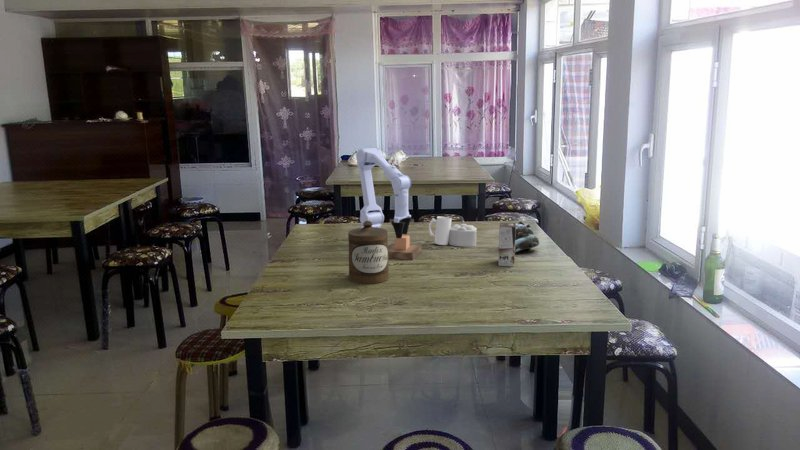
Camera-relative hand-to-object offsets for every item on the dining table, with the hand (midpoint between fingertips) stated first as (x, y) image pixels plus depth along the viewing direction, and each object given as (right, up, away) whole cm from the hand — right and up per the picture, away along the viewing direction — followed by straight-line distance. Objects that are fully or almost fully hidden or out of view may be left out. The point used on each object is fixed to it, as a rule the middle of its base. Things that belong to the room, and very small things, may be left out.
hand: (401, 236), depth 273 cm
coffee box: (+42, -11, -13) cm, 46 cm away
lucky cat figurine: (+51, -7, +7) cm, 52 cm away
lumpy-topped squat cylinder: (+27, -4, +20) cm, 34 cm away
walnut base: (0, -8, +2) cm, 8 cm away
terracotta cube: (0, -5, +1) cm, 5 cm away
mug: (+16, -4, +20) cm, 26 cm away
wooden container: (-12, -16, -32) cm, 38 cm away
